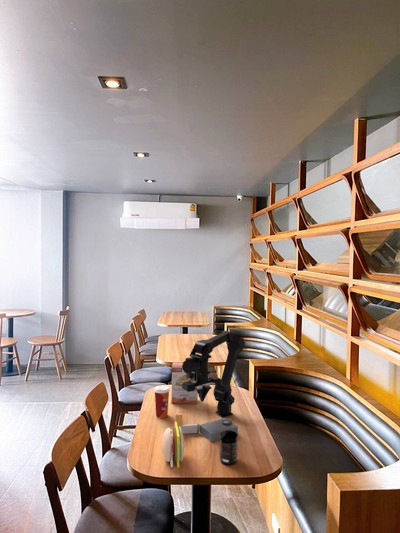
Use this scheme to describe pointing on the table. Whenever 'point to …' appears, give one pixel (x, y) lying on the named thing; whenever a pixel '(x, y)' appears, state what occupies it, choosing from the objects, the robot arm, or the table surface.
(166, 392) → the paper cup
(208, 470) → the table surface
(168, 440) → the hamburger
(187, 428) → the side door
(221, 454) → the supplement container
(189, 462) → the table surface
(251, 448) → the table surface
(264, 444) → the table surface
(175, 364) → the cracker box
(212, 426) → the box with round button
